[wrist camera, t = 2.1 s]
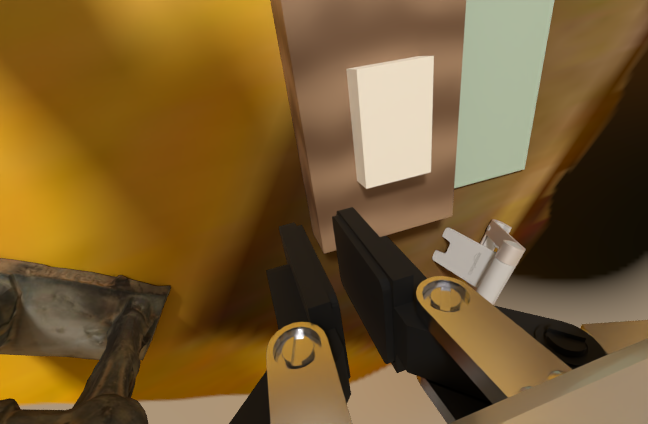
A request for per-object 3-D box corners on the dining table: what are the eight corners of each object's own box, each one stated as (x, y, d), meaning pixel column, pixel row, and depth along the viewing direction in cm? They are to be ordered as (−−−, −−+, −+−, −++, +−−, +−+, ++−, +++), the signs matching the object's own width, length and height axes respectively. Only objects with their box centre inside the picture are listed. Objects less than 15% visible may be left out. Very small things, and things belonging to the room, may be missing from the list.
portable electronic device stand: (470, 274, 43) (519, 317, 36) (425, 271, 41) (469, 317, 33) (499, 220, 40) (559, 254, 33) (452, 212, 38) (507, 248, 30)
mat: (440, -26, 26) (443, -27, 26) (557, -40, 28) (561, -41, 28) (434, 192, 35) (436, 193, 35) (521, 168, 38) (524, 169, 37)
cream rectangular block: (346, 68, 23) (356, 69, 21) (418, 56, 24) (433, 55, 22) (357, 180, 27) (366, 188, 26) (418, 165, 28) (430, 172, 27)
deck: (266, -21, 23) (274, -35, 19) (436, -40, 25) (469, -56, 22) (313, 233, 33) (324, 253, 30) (430, 200, 36) (452, 216, 32)
